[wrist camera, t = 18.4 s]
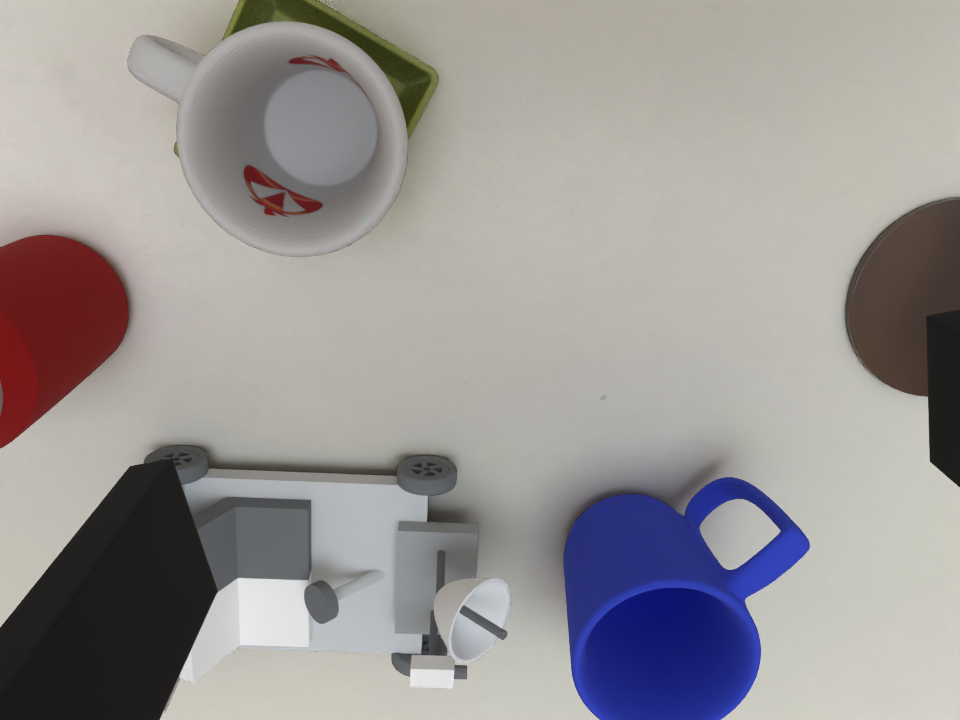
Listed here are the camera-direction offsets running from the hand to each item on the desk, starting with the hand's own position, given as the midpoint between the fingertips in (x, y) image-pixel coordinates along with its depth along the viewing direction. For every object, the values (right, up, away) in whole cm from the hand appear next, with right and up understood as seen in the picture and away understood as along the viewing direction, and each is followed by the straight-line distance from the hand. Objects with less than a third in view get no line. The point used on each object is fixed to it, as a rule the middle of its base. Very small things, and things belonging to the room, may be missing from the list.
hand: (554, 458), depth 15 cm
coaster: (+22, +5, +28) cm, 36 cm away
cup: (-9, +12, +22) cm, 27 cm away
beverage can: (-21, +5, +27) cm, 35 cm away
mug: (+8, -7, +32) cm, 33 cm away
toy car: (-9, -8, +32) cm, 34 cm away
